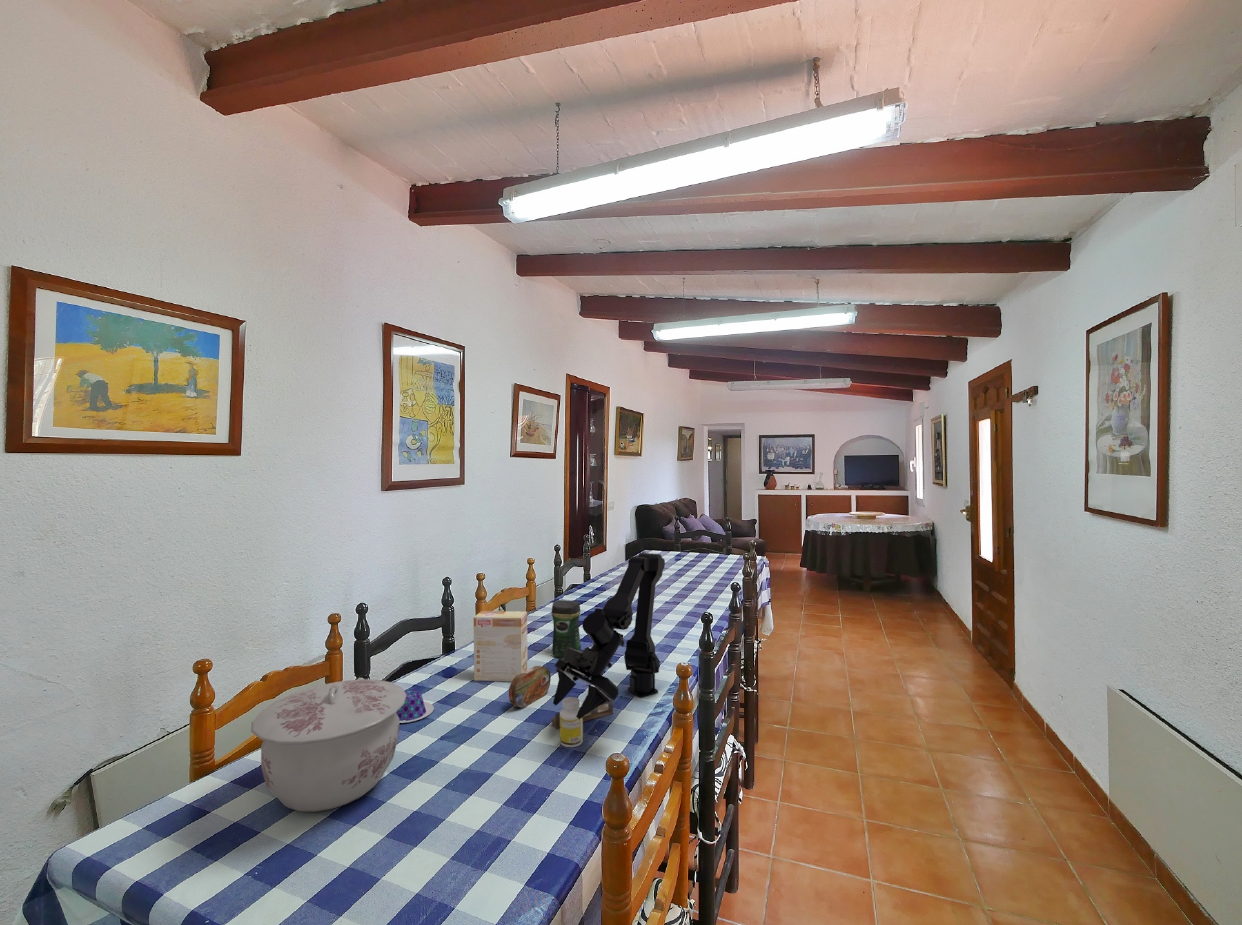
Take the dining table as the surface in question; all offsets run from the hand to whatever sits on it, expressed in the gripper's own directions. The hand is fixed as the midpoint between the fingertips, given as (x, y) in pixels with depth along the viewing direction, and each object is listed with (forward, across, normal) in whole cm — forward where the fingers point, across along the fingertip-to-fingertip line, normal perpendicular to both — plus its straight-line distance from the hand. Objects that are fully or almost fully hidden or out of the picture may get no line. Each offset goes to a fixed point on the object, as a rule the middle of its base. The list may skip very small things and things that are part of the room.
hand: (565, 711), depth 123 cm
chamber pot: (+37, -18, -26) cm, 49 cm away
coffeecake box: (0, -46, +12) cm, 47 cm away
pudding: (+21, -41, -9) cm, 47 cm away
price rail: (-2, -7, +13) cm, 15 cm away
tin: (+1, -26, +10) cm, 27 cm away
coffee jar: (-19, -47, +30) cm, 59 cm away
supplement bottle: (+4, 0, +7) cm, 8 cm away
